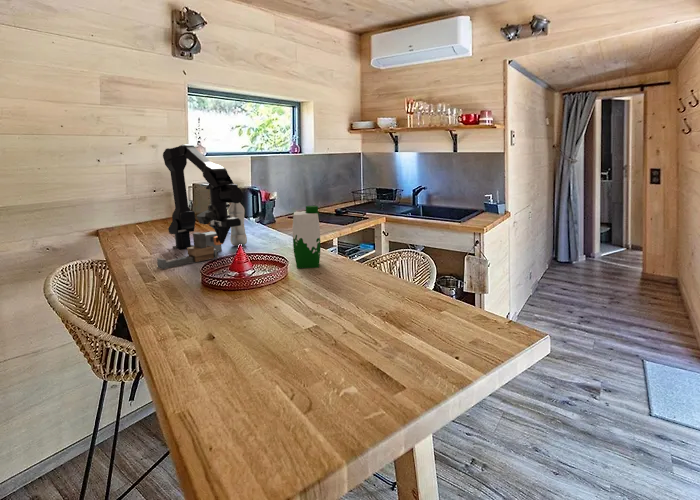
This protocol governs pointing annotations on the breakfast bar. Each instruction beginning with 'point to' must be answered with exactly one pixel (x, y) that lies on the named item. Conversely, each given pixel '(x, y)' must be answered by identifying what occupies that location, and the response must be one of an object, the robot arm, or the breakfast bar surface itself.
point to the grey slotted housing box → (209, 242)
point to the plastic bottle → (238, 231)
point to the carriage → (200, 248)
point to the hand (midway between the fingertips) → (221, 243)
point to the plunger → (215, 240)
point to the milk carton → (306, 238)
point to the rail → (178, 261)
